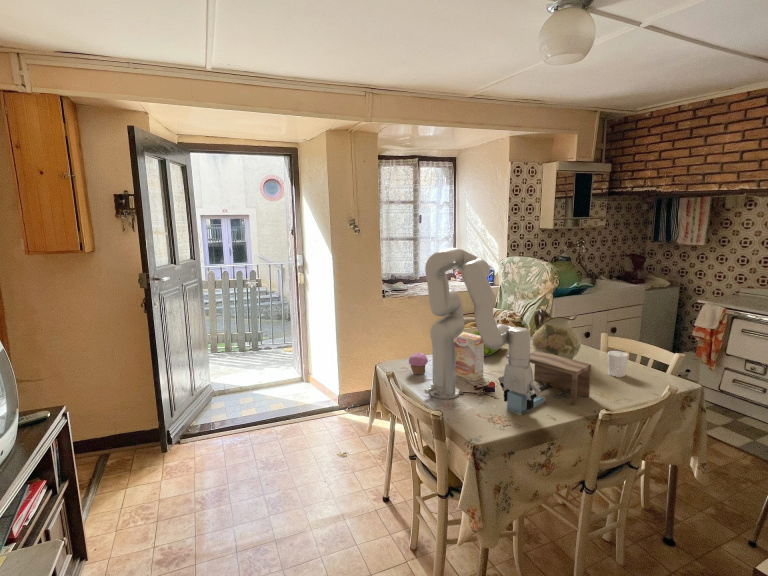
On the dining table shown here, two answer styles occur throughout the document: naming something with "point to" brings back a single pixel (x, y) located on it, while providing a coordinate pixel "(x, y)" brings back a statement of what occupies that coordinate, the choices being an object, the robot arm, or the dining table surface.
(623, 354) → the white cup
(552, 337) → the pitcher
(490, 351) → the lettuce
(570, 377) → the shelf
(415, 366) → the cupcake
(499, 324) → the robot arm
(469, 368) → the coffeecake box
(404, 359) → the dining table surface
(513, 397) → the light blue channel block
